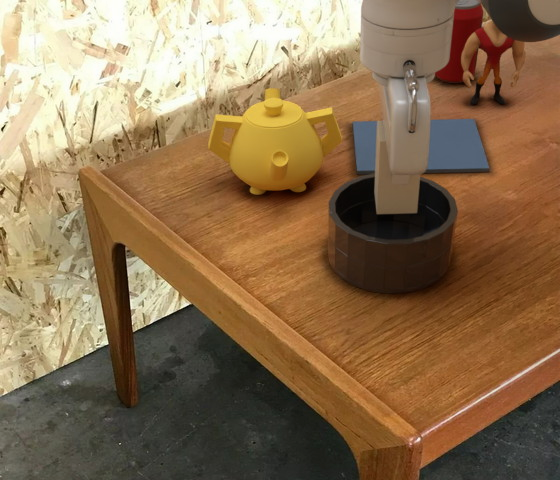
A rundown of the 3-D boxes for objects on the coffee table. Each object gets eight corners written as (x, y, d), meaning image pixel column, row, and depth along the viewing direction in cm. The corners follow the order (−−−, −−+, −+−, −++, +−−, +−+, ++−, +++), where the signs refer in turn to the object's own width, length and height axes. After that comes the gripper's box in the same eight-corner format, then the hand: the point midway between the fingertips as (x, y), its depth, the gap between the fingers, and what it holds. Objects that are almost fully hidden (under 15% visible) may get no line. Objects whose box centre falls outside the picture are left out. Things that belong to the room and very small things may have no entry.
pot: (442, 219, 101) (448, 171, 96) (457, 292, 90) (465, 242, 85) (327, 221, 101) (327, 173, 96) (329, 294, 91) (330, 244, 86)
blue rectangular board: (473, 122, 118) (474, 118, 118) (489, 172, 108) (489, 168, 108) (352, 125, 119) (352, 121, 119) (356, 174, 109) (357, 170, 109)
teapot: (350, 215, 102) (352, 135, 94) (211, 223, 102) (202, 144, 94) (333, 138, 116) (334, 63, 108) (212, 145, 116) (204, 71, 108)
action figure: (457, 107, 122) (470, 6, 111) (454, 96, 124) (467, -4, 114) (519, 106, 121) (539, 5, 110) (516, 95, 124) (534, -5, 113)
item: (413, 191, 92) (419, 119, 86) (417, 213, 89) (423, 140, 83) (374, 192, 92) (377, 120, 86) (376, 214, 89) (379, 141, 83)
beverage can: (482, 75, 129) (494, -2, 121) (458, 89, 126) (468, 11, 117) (448, 63, 133) (456, -12, 124) (423, 77, 129) (431, 1, 121)
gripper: (451, 88, 70) (437, 220, 80) (426, 1, 85) (417, 121, 94) (380, 91, 70) (374, 222, 80) (367, 3, 85) (364, 123, 95)
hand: (397, 167), depth 87 cm, fingers closed on item, 4 cm apart
